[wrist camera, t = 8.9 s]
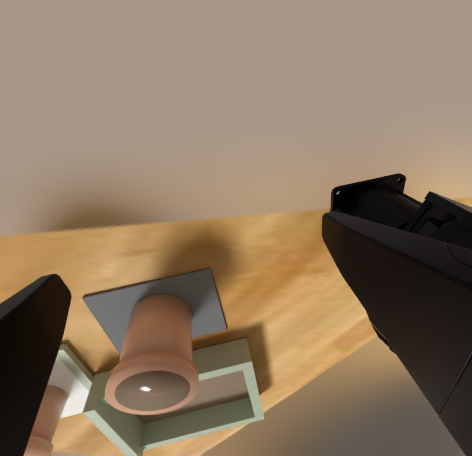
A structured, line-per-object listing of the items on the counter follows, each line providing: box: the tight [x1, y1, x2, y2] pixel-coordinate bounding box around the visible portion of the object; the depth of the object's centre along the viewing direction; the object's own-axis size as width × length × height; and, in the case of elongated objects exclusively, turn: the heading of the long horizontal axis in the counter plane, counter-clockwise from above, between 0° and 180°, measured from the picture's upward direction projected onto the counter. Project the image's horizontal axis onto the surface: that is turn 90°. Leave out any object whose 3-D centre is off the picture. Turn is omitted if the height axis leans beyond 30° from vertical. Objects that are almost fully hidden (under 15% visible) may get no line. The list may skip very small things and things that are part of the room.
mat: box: [82, 268, 227, 355], centre depth 26 cm, size 12×9×1 cm
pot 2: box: [105, 294, 199, 415], centre depth 23 cm, size 7×7×7 cm
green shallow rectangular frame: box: [83, 338, 264, 456], centre depth 32 cm, size 18×14×4 cm
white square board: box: [48, 344, 94, 418], centre depth 29 cm, size 10×12×1 cm
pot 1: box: [24, 385, 68, 456], centre depth 27 cm, size 6×6×6 cm
